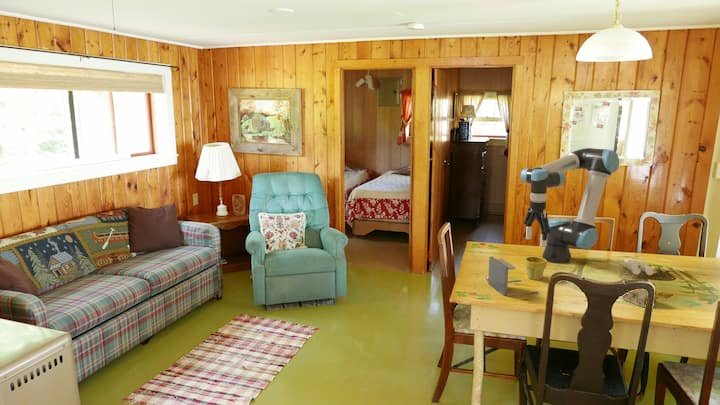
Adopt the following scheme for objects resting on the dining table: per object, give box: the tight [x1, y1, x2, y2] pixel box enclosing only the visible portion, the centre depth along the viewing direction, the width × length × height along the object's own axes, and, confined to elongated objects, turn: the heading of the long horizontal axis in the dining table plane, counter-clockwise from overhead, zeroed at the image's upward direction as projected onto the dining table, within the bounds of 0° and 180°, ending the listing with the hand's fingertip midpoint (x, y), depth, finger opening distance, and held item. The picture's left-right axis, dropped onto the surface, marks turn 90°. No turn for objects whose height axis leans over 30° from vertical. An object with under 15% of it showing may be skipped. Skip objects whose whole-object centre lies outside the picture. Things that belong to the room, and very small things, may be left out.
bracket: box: [487, 256, 540, 297], centre depth 238 cm, size 18×18×14 cm
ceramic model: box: [622, 289, 658, 309], centre depth 221 cm, size 14×11×10 cm
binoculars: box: [623, 258, 655, 276], centre depth 262 cm, size 10×16×5 cm, turn 170°
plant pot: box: [524, 256, 548, 281], centre depth 252 cm, size 10×10×10 cm
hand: (535, 242), depth 249 cm, fingers open, 13 cm apart
